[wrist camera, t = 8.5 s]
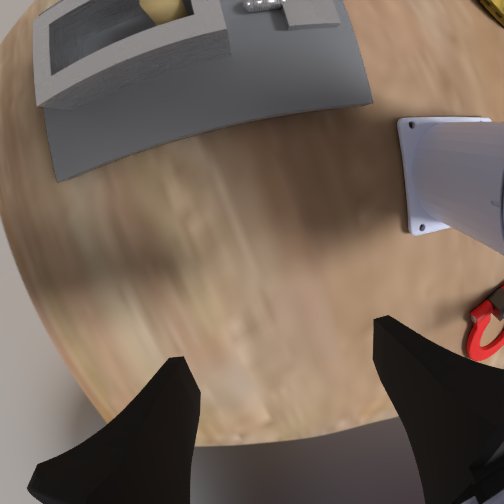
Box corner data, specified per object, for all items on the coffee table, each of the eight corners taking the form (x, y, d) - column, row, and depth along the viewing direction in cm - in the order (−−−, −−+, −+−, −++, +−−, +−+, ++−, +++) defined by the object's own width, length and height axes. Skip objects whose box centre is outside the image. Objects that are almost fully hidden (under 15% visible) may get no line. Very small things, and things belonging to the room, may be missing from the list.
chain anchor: (318, -22, 11) (322, -29, 10) (337, 27, 13) (342, 21, 12) (236, -15, 12) (235, -22, 11) (250, 36, 13) (250, 29, 12)
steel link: (212, -21, 11) (203, -56, 8) (231, 55, 13) (226, 28, 10) (67, 36, 12) (33, 20, 8) (75, 111, 14) (36, 106, 10)
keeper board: (307, -57, 11) (322, -99, 6) (364, 105, 16) (406, 93, 10) (49, 19, 12) (7, 1, 7) (69, 179, 17) (18, 194, 12)
